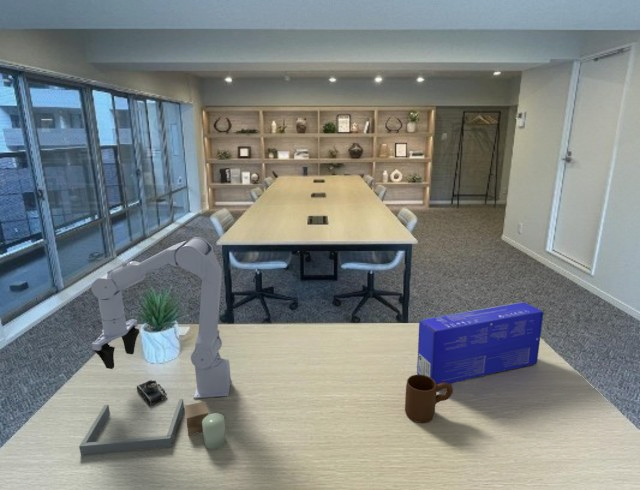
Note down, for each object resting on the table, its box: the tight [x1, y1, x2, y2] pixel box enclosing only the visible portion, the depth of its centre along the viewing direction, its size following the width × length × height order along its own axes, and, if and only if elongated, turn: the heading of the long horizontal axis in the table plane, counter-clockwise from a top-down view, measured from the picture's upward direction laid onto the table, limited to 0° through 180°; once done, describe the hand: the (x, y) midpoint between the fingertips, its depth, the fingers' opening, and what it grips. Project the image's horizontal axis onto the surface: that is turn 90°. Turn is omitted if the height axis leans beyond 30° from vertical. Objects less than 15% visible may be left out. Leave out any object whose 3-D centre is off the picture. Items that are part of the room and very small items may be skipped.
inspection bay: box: [78, 398, 185, 456], centre depth 99 cm, size 20×14×2 cm
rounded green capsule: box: [202, 412, 227, 451], centre depth 95 cm, size 5×5×6 cm
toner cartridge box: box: [416, 301, 545, 385], centre depth 122 cm, size 39×8×18 cm, turn 108°
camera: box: [136, 379, 168, 406], centre depth 113 cm, size 5×10×4 cm, turn 42°
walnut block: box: [184, 400, 209, 436], centre depth 100 cm, size 5×5×5 cm
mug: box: [404, 374, 454, 424], centre depth 103 cm, size 12×8×9 cm, turn 91°
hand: (120, 360), depth 113 cm, fingers open, 7 cm apart
